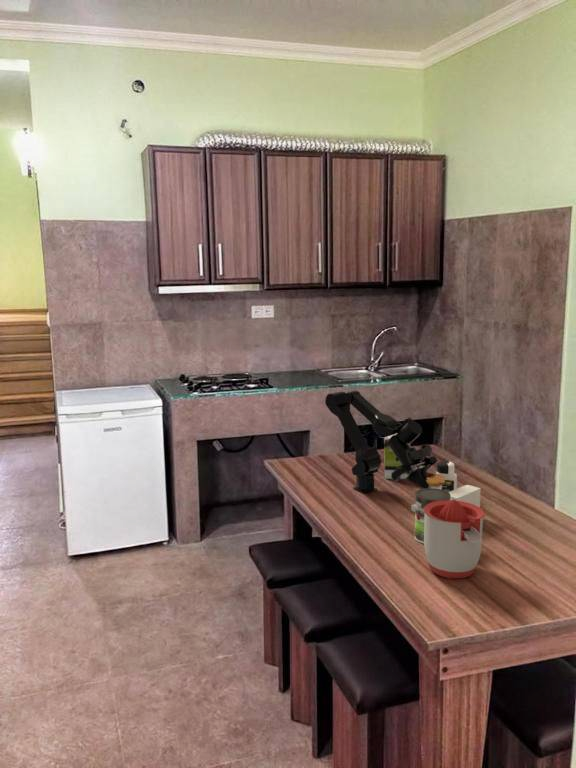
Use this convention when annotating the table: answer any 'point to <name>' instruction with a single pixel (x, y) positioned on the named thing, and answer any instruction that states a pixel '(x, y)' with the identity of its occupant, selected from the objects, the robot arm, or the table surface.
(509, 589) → the table surface
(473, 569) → the citrus juicer
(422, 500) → the coffee can
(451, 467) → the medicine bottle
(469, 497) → the knob mount
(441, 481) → the knob
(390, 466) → the tea box
